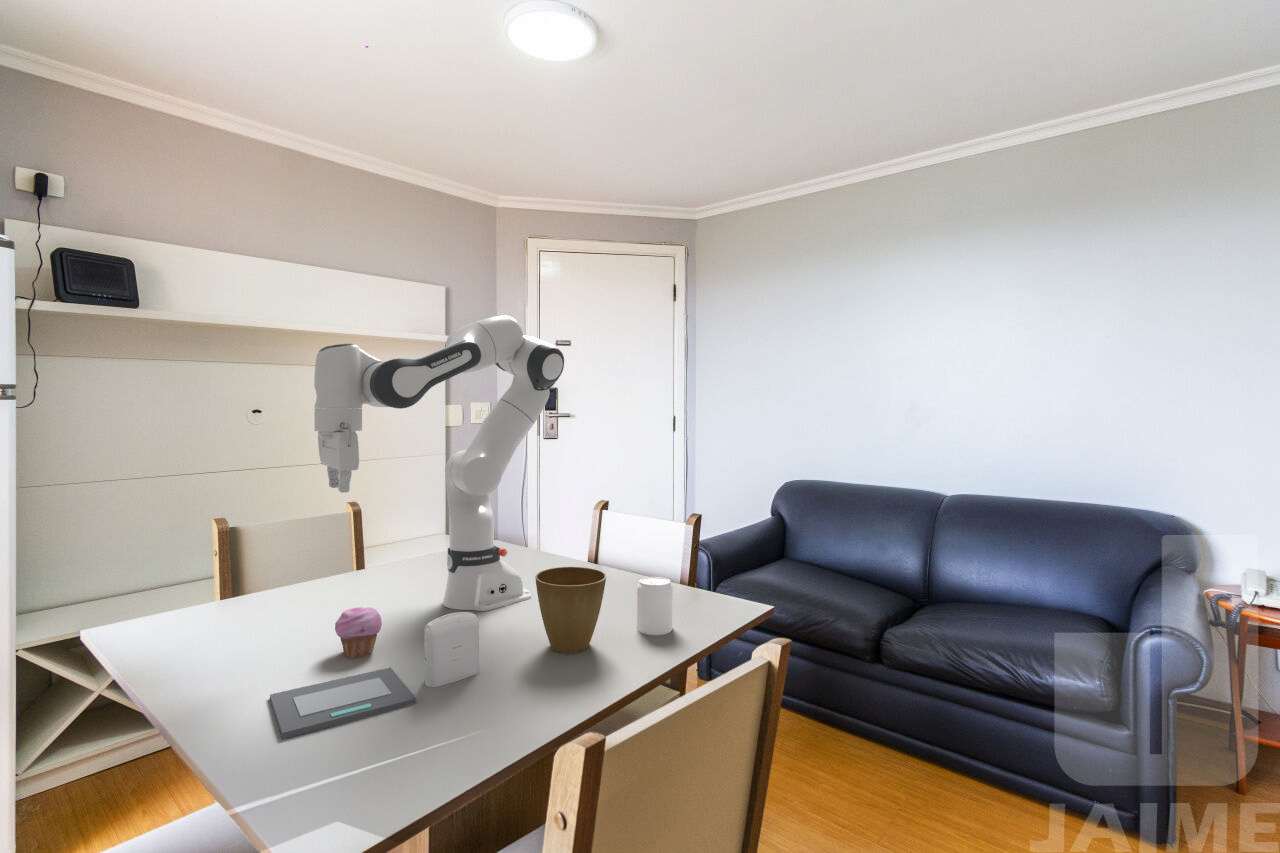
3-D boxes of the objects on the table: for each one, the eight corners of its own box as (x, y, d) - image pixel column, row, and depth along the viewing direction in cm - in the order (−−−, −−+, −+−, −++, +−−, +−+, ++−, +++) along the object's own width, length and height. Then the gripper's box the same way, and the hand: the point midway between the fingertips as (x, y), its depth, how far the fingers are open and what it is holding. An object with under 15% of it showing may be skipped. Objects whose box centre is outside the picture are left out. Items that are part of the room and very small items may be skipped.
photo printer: (430, 691, 112) (430, 623, 111) (420, 683, 115) (420, 617, 114) (482, 675, 118) (482, 611, 118) (471, 668, 122) (472, 606, 121)
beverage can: (679, 632, 143) (679, 580, 143) (655, 641, 137) (656, 587, 137) (652, 624, 148) (653, 574, 148) (629, 632, 142) (629, 580, 142)
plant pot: (521, 657, 128) (521, 579, 127) (556, 633, 141) (557, 563, 141) (586, 668, 122) (586, 587, 122) (616, 643, 136) (617, 570, 136)
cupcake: (330, 654, 128) (330, 606, 128) (374, 645, 133) (374, 598, 133) (342, 668, 121) (342, 617, 121) (387, 657, 127) (387, 608, 126)
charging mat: (390, 672, 119) (390, 666, 119) (416, 703, 107) (416, 697, 107) (269, 700, 107) (269, 693, 107) (282, 739, 95) (282, 731, 95)
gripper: (367, 423, 121) (367, 494, 122) (344, 421, 138) (344, 484, 138) (331, 423, 117) (332, 496, 118) (312, 421, 134) (313, 486, 134)
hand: (338, 489), depth 128 cm, fingers open, 8 cm apart
